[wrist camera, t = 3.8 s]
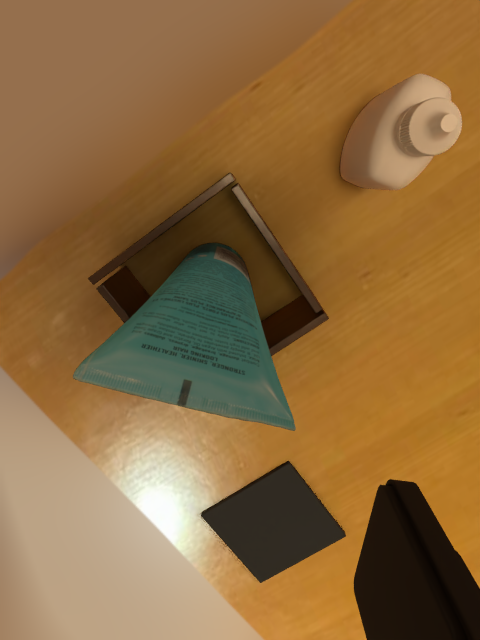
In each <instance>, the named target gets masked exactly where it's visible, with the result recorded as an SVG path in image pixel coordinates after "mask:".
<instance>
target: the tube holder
mask: <svg viewBox="0 0 480 640" xmlns="http://www.w3.org/2000/svg"><path fill="white" fill-rule="evenodd" d="M235 180H236V179H235V177H234V176H233V174H231V173H229V174H227V175H226V176H225V177H223V178H222V179H220V180H219V181H218V182H216V183H215V184H214V185H212V186H211V187H210V188H208V189H207V190H206V191H204V192H203V193H202V194H200V195H199V196H198V197H196V198H195V199H194V200H192V201H191V202H190V203H188V204H187V205H186V206H184V207H183V208H182V209H180V210H179V211H177V212H176V213H175V214H173V215H172V216H171V217H169V218H168V219H167V220H165V221H164V222H163V223H161V224H160V225H159V226H157V227H156V228H155V229H153V230H152V231H151V232H149V233H148V234H147V235H145V236H144V237H143V238H141V239H140V240H139V241H137V242H136V243H135V244H133V245H132V246H130V247H129V248H128V249H126V250H125V251H124V252H122V253H121V254H120V255H118V256H117V257H116V258H114V259H113V260H112V261H110V262H109V263H108V264H106V265H105V266H104V267H102V268H101V269H100V270H98V271H97V272H96V273H94V274H93V275H92V276H90V277H89V278H88V279H89V281H90V282H91V283H92V284H93V285H94V284H95V283H97V282H98V281H99V280H101V279H102V278H103V277H105V276H106V275H108V274H109V273H110V272H112V271H113V270H114V269H116V268H117V267H118V266H120V265H121V264H122V263H124V262H125V261H127V260H128V259H129V258H131V257H132V256H133V255H135V254H136V253H137V252H139V251H140V250H141V249H143V248H144V247H145V246H147V245H148V244H150V243H151V242H152V241H154V240H155V239H156V238H158V237H159V236H160V235H162V234H163V233H164V232H166V231H167V230H168V229H170V228H171V227H173V226H174V225H175V224H177V223H178V222H179V221H181V220H182V219H183V218H185V217H186V216H187V215H189V214H190V213H191V212H193V211H194V210H196V209H197V208H198V207H200V206H201V205H202V204H204V203H205V202H206V201H208V200H209V199H210V198H212V197H213V196H215V195H216V194H217V193H219V192H220V191H221V190H223V189H224V188H225V187H227V186H228V185H229V184H231V183H232V182H233V181H235ZM231 190H232V192H233V193H234V195H235V196H236V198H237V199H238V200H239V202H240V203H241V205H242V206H243V208H244V209H245V211H246V212H247V214H248V215H249V217H250V218H251V219H252V221H253V222H254V224H255V225H256V227H257V228H258V230H259V231H260V233H261V234H262V236H263V237H264V238H265V240H266V241H267V243H268V244H269V246H270V247H271V249H272V250H273V252H274V253H275V255H276V256H277V257H278V259H279V260H280V262H281V263H282V265H283V266H284V268H285V269H286V271H287V272H288V274H289V275H290V277H291V278H292V279H293V281H294V282H295V284H296V285H297V287H298V288H299V290H300V291H301V293H302V294H303V295H301V296H300V297H298V298H297V299H295V300H294V301H292V302H291V303H289V304H288V305H286V306H285V307H283V308H282V309H280V310H279V311H277V312H276V313H274V314H273V315H271V316H270V317H268V318H267V319H265V320H264V321H262V322H261V324H262V328H263V331H264V335H265V338H266V341H267V345H268V348H269V351H270V354H271V356H272V355H274V354H275V353H277V352H278V351H280V350H281V349H283V348H285V347H286V346H288V345H289V344H291V343H292V342H294V341H295V340H297V339H298V338H300V337H301V336H303V335H305V334H306V333H308V332H309V331H311V330H312V329H314V328H315V327H317V326H318V325H320V324H322V323H323V322H325V321H326V320H328V319H329V317H328V316H327V314H326V313H325V311H324V310H323V308H322V307H321V305H320V303H319V302H318V300H317V299H316V297H315V296H314V294H313V293H312V291H311V290H310V288H309V287H308V285H307V284H306V282H305V281H304V279H303V278H302V276H301V275H300V273H299V272H298V270H297V269H296V267H295V266H294V265H293V263H292V262H291V260H290V259H289V257H288V256H287V254H286V253H285V251H284V250H283V248H282V247H281V245H280V244H279V242H278V241H277V239H276V238H275V236H274V235H273V233H272V232H271V231H270V229H269V228H268V226H267V225H266V223H265V222H264V220H263V219H262V217H261V216H260V214H259V213H258V211H257V210H256V208H255V207H254V205H253V204H252V202H251V201H250V199H249V198H248V196H247V195H246V194H245V192H244V191H243V189H242V188H241V186H240V185H239V183H237V184H236V185H234V186H233V187H232V189H231ZM96 289H97V290H98V292H99V293H100V294H101V295H102V296H103V298H104V299H105V300H106V301H107V303H108V304H109V305H110V306H111V307H112V309H113V310H114V311H115V312H116V313H117V315H118V316H119V317H120V318H121V320H122V321H123V322H124V323H125V322H126V321H127V320H129V319H130V318H131V317H132V316H133V315H134V314H135V313H136V312H137V311H138V310H139V308H140V307H141V306H142V305H143V304H144V303H145V302H146V301H147V300H148V299H149V298H150V296H149V294H148V293H147V292H146V291H145V289H144V288H143V287H142V286H141V284H140V283H139V282H138V280H137V279H136V278H135V277H134V275H133V274H132V273H131V272H130V270H129V269H128V268H127V267H126V266H124V267H123V268H122V269H120V270H119V271H118V272H117V273H115V274H114V275H113V276H111V277H110V278H109V279H107V280H106V281H105V282H104V283H102V284H101V285H100V286H98V287H97V288H96Z"/></svg>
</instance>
